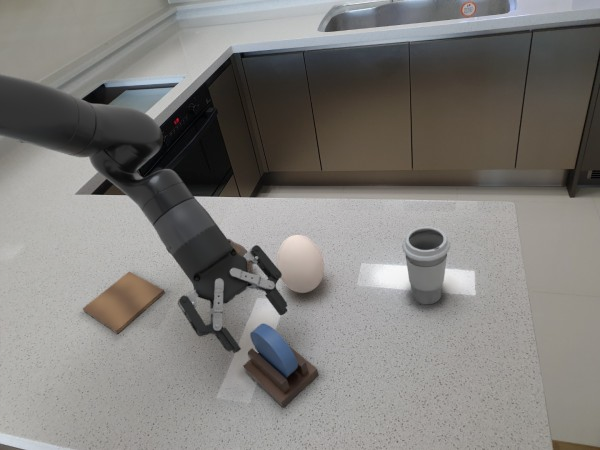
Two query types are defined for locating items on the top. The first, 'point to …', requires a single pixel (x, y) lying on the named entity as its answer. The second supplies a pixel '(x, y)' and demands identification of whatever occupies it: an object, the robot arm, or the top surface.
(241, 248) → the vase
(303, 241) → the egg
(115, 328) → the plate
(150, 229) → the top surface
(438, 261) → the cup
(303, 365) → the rack
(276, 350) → the disc
